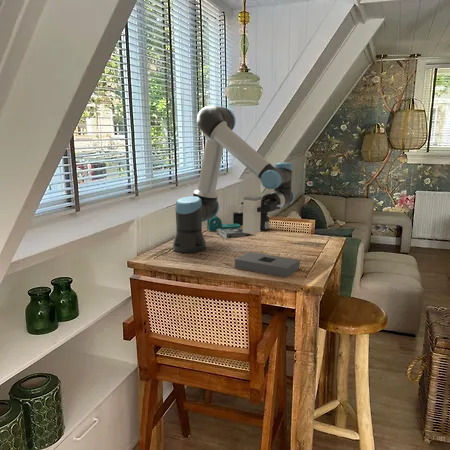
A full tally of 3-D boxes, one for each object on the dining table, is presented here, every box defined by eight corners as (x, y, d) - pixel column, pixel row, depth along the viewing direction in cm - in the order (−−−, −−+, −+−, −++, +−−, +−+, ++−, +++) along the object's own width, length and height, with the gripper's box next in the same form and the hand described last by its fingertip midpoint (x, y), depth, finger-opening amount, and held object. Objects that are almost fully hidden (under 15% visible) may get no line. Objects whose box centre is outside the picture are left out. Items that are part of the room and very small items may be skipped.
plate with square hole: (234, 270, 169) (234, 259, 168) (249, 262, 179) (249, 251, 178) (286, 280, 158) (286, 268, 157) (299, 271, 168) (299, 260, 167)
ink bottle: (270, 231, 233) (270, 209, 230) (253, 231, 233) (254, 209, 230) (268, 227, 242) (269, 206, 240) (253, 227, 243) (253, 206, 240)
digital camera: (233, 226, 246) (233, 214, 245) (233, 224, 252) (233, 212, 250) (251, 225, 247) (252, 213, 245) (250, 223, 252) (250, 212, 251)
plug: (242, 232, 168) (243, 196, 165) (248, 230, 173) (250, 195, 169) (253, 234, 166) (255, 198, 163) (259, 231, 170) (261, 196, 167)
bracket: (209, 231, 233) (209, 217, 232) (207, 229, 240) (207, 215, 238) (241, 229, 237) (241, 215, 236) (238, 227, 244) (238, 213, 242)
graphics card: (224, 233, 215) (216, 228, 226) (224, 241, 216) (216, 235, 227) (255, 231, 221) (245, 225, 232) (255, 238, 222) (245, 232, 233)
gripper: (292, 212, 178) (266, 222, 159) (253, 208, 187) (224, 217, 168) (292, 194, 176) (267, 202, 157) (254, 191, 186) (225, 198, 166)
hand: (245, 210), depth 163 cm, fingers closed on plug, 5 cm apart
